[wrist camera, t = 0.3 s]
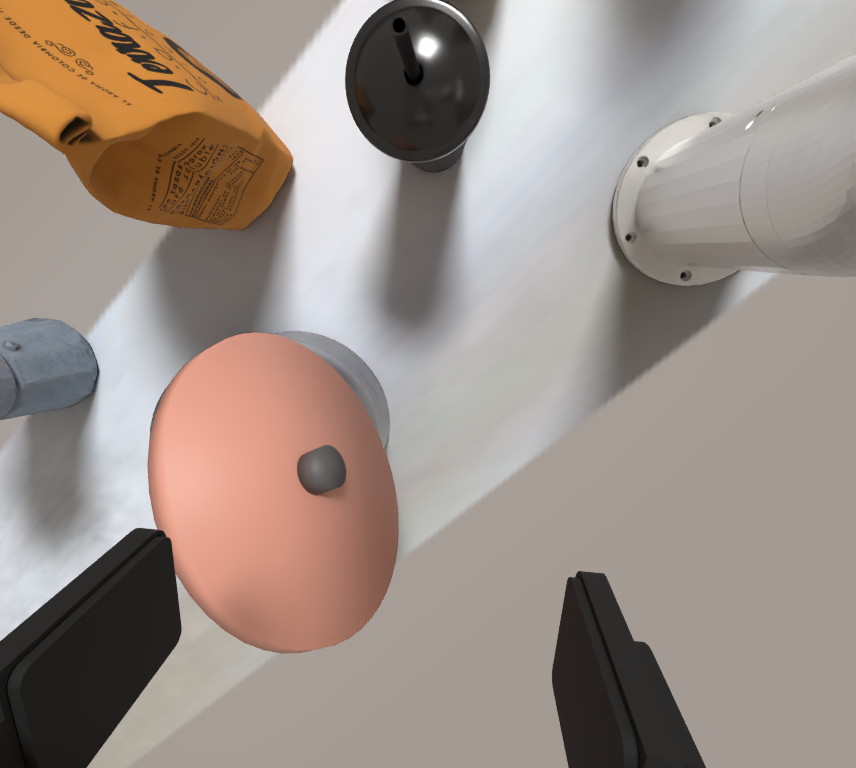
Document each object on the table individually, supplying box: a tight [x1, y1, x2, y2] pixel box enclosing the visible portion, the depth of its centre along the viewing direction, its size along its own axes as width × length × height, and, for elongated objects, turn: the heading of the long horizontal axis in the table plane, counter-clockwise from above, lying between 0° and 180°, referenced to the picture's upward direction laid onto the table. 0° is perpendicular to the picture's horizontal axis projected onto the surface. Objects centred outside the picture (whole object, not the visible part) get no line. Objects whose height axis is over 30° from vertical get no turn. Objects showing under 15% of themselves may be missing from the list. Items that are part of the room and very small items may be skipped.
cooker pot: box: [150, 331, 390, 450], centre depth 40 cm, size 18×18×10 cm
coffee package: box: [0, 0, 293, 230], centre depth 28 cm, size 10×12×22 cm
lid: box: [148, 332, 399, 653], centre depth 26 cm, size 17×17×3 cm
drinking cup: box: [345, 0, 490, 172], centre depth 28 cm, size 8×8×20 cm
